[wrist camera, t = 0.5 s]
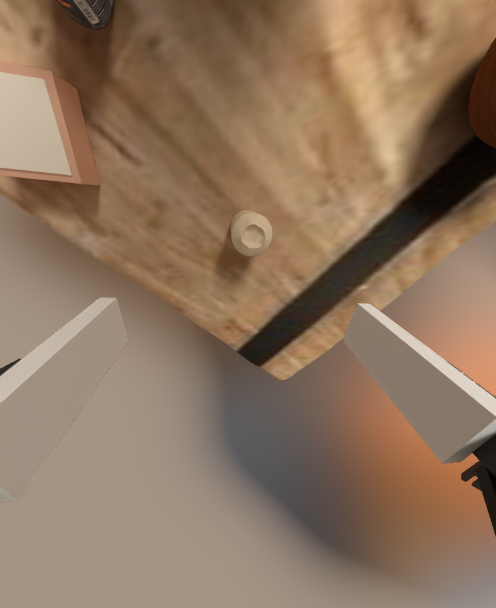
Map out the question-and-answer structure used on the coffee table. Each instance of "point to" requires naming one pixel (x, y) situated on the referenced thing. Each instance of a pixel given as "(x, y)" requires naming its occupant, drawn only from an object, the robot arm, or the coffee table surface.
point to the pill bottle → (89, 11)
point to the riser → (43, 128)
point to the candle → (250, 233)
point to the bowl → (484, 99)
